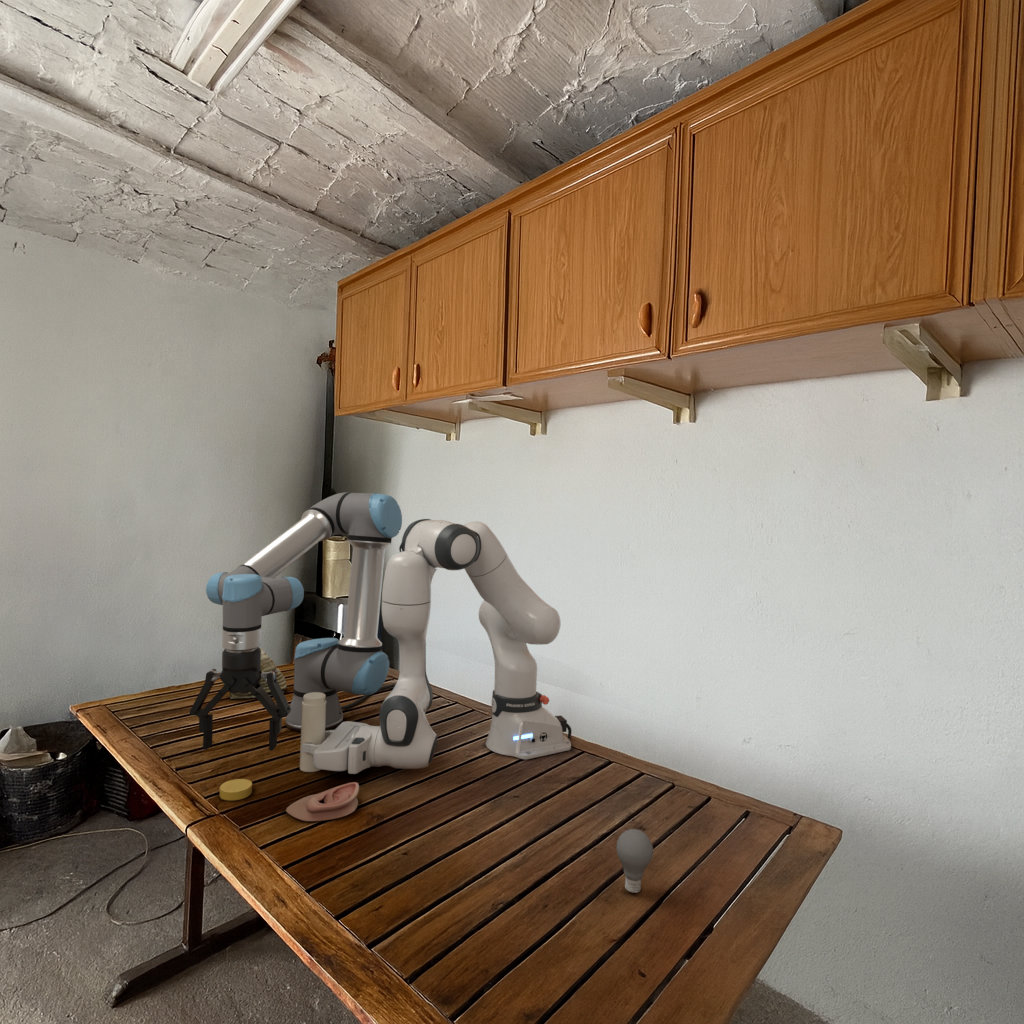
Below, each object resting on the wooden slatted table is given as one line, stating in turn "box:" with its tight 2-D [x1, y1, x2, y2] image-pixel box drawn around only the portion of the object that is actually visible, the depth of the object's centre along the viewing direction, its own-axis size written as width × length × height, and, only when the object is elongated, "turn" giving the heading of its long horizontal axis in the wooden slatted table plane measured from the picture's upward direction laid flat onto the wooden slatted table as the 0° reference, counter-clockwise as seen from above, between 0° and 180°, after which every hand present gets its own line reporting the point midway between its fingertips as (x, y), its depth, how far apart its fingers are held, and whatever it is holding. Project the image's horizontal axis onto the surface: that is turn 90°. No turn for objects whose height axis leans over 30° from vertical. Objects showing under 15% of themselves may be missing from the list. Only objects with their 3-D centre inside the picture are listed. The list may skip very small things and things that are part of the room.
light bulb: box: [615, 828, 654, 894], centre depth 106 cm, size 6×6×10 cm
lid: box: [219, 778, 253, 802], centre depth 134 cm, size 6×6×2 cm
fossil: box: [222, 647, 288, 699], centre depth 198 cm, size 9×18×15 cm, turn 132°
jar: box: [299, 692, 326, 773], centre depth 148 cm, size 5×5×17 cm
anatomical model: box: [285, 781, 360, 822], centre depth 129 cm, size 13×4×12 cm
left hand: (240, 747), depth 134 cm, fingers open, 13 cm apart
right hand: (308, 741), depth 148 cm, fingers closed on jar, 5 cm apart
